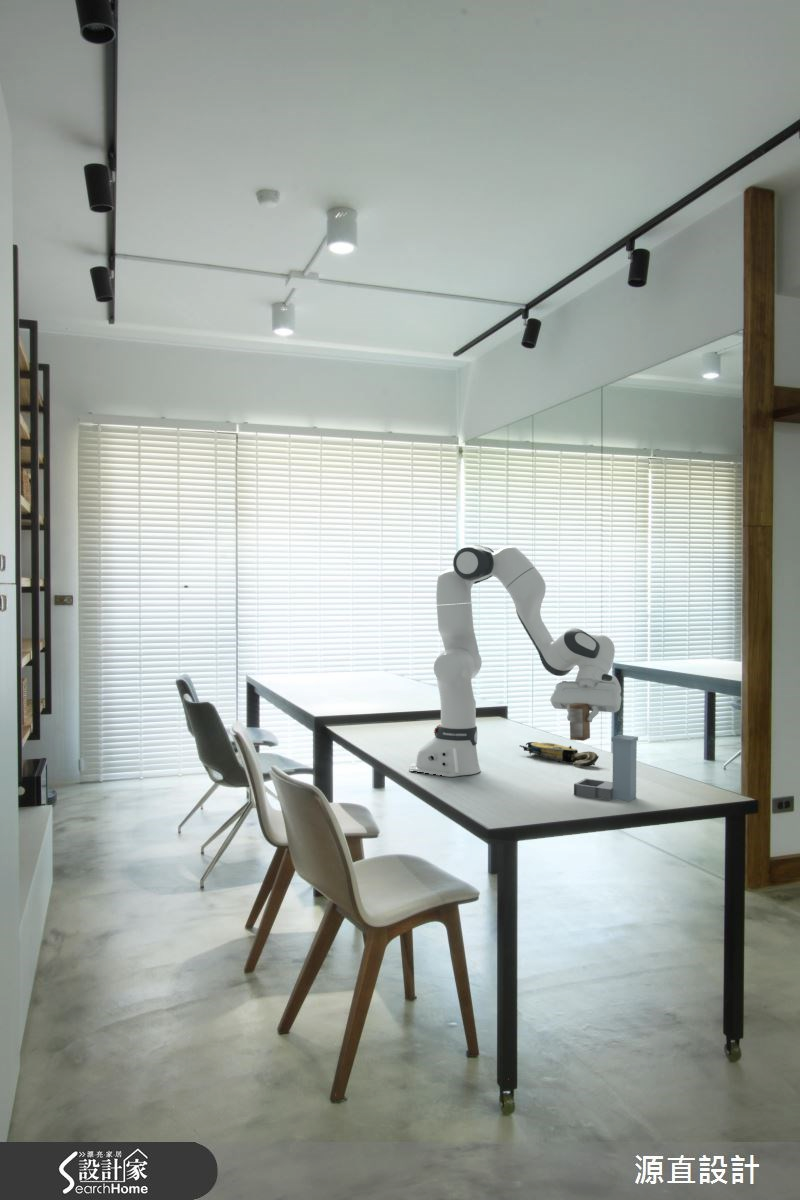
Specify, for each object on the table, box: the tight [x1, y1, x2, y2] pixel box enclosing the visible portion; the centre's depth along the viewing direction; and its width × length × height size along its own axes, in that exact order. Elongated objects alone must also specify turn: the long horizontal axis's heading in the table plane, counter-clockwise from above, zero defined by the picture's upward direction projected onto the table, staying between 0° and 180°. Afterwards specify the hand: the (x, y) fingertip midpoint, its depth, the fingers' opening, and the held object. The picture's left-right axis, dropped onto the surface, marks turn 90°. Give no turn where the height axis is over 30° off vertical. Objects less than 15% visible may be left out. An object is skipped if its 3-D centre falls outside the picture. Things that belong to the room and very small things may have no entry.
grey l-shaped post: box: [573, 734, 639, 802], centre depth 237 cm, size 16×9×17 cm, turn 56°
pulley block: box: [519, 741, 600, 768], centre depth 283 cm, size 14×6×30 cm
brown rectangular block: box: [569, 703, 591, 742], centre depth 241 cm, size 4×6×10 cm
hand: (579, 720), depth 241 cm, fingers closed on brown rectangular block, 4 cm apart
